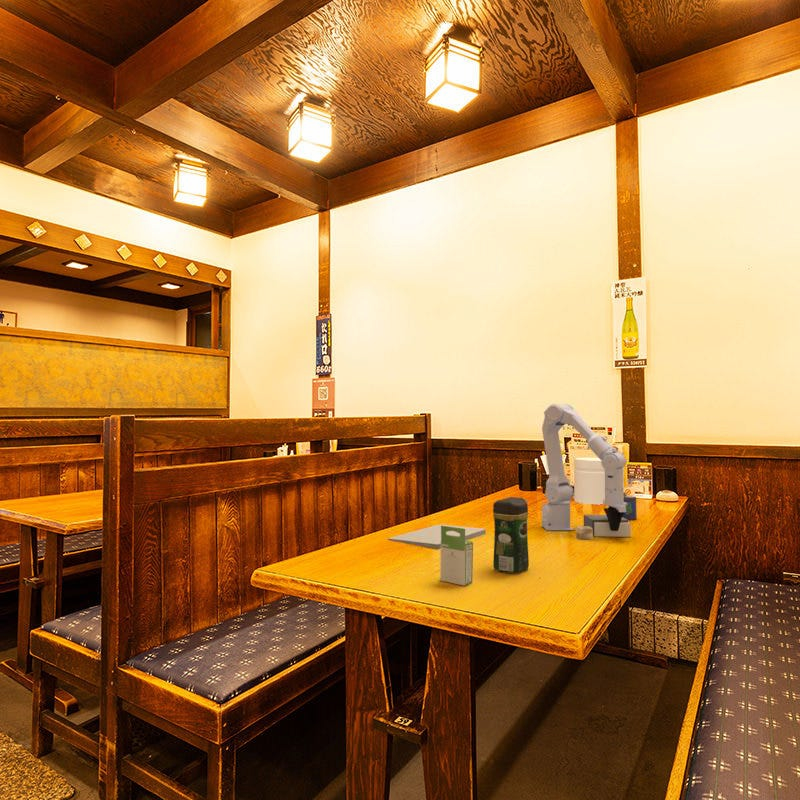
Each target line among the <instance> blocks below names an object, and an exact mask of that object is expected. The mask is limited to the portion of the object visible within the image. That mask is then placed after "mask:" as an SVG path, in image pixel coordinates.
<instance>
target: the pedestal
mask: <svg viewBox="0 0 800 800" xmlns="http://www.w3.org/2000/svg"><path fill="white" fill-rule="evenodd" d="M593 536H594V535H593V529H592V528H591V527H589V526H584V525H577V526H576V538H577V539H579V540H587V541H588V540H594V537H593Z"/></svg>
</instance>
